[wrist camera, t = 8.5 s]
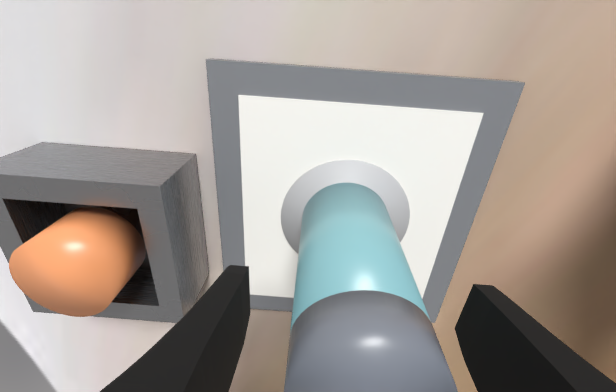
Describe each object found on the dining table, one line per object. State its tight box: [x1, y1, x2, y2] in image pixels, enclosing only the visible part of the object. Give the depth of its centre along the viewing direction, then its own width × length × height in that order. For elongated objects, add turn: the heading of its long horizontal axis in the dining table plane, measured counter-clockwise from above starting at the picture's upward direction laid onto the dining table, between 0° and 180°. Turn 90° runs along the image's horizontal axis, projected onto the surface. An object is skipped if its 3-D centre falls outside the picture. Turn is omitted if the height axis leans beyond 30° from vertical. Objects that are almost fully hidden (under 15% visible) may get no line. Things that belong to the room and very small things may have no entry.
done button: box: [9, 207, 146, 317], centre depth 12 cm, size 4×4×2 cm
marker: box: [284, 183, 458, 392], centre depth 11 cm, size 4×4×8 cm
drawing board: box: [206, 59, 525, 323], centre depth 14 cm, size 12×13×1 cm
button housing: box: [0, 142, 209, 323], centre depth 14 cm, size 7×7×3 cm
